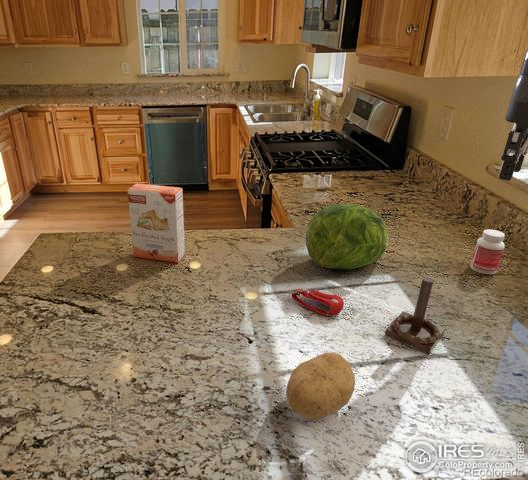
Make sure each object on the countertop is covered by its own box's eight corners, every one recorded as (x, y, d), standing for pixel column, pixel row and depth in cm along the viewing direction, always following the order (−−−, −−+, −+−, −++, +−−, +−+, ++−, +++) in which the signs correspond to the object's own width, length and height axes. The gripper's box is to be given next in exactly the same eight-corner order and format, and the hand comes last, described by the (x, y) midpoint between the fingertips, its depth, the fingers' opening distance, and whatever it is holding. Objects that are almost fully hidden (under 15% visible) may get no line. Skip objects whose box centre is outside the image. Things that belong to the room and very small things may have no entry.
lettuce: (420, 243, 110) (384, 188, 119) (358, 250, 98) (323, 187, 107) (372, 277, 124) (343, 225, 132) (313, 286, 112) (285, 228, 120)
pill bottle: (500, 276, 111) (513, 238, 106) (475, 275, 111) (487, 237, 107) (488, 265, 116) (500, 228, 112) (465, 264, 117) (475, 227, 112)
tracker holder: (332, 287, 105) (355, 300, 95) (328, 304, 106) (351, 319, 96) (287, 283, 102) (307, 296, 92) (284, 300, 102) (303, 315, 93)
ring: (445, 330, 89) (446, 326, 88) (429, 351, 83) (431, 346, 82) (402, 313, 94) (403, 309, 94) (385, 331, 89) (386, 326, 88)
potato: (267, 409, 72) (270, 373, 69) (317, 370, 81) (322, 336, 77) (315, 446, 66) (320, 409, 62) (364, 400, 74) (371, 364, 70)
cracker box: (132, 258, 122) (125, 189, 113) (141, 248, 128) (135, 182, 118) (178, 264, 119) (174, 193, 110) (185, 254, 124) (183, 186, 115)
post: (444, 333, 90) (459, 279, 84) (429, 354, 84) (444, 297, 78) (401, 316, 96) (413, 264, 90) (384, 334, 90) (396, 280, 84)
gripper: (549, 104, 80) (522, 186, 87) (561, 96, 89) (536, 171, 96) (503, 100, 84) (481, 179, 91) (519, 93, 93) (498, 165, 101)
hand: (509, 175), depth 94 cm, fingers open, 8 cm apart
